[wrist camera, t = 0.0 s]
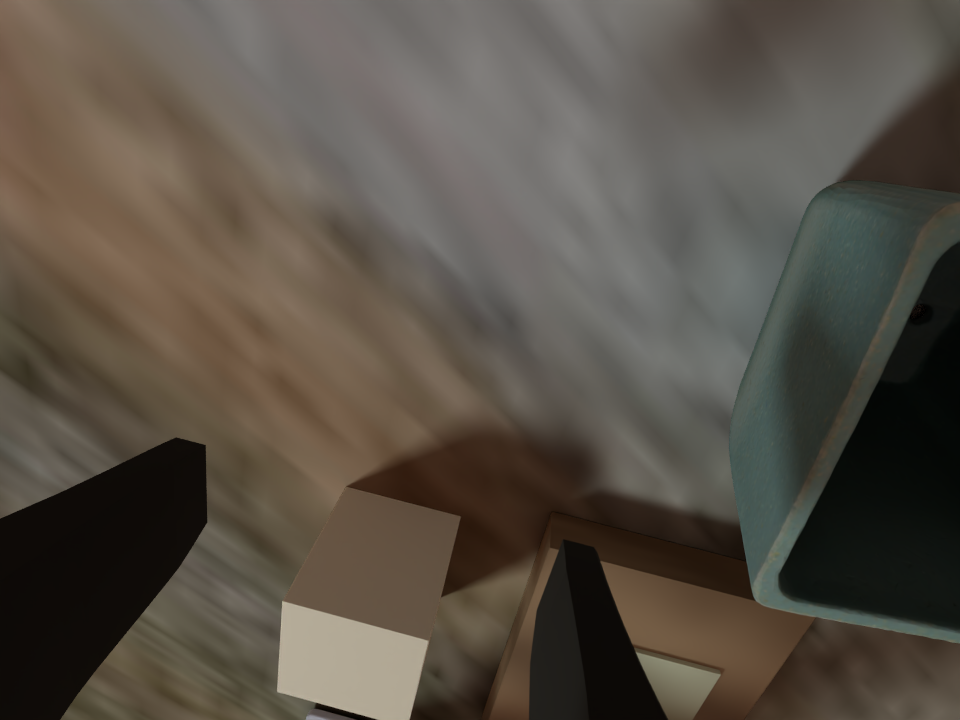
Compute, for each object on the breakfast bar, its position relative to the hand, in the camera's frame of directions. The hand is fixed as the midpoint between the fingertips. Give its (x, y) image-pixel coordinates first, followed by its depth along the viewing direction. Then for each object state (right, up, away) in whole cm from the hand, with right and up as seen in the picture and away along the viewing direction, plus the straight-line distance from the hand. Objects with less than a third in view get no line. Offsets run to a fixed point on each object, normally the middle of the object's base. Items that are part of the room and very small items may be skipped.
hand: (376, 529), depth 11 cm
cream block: (-2, -5, +14) cm, 15 cm away
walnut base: (+8, -10, +15) cm, 20 cm away
